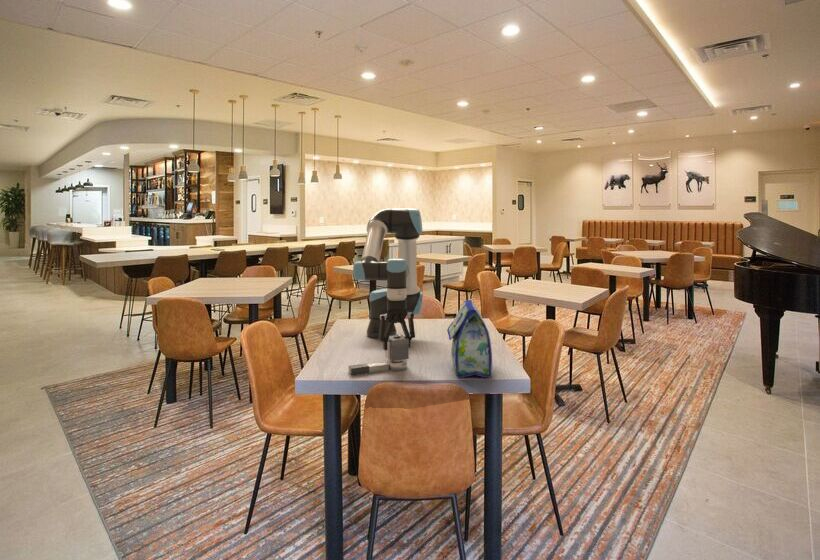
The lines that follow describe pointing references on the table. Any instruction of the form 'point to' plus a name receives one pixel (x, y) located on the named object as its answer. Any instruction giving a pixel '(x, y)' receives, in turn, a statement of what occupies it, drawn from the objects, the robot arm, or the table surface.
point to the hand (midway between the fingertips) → (397, 356)
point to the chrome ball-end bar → (378, 367)
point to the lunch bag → (470, 343)
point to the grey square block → (398, 347)
